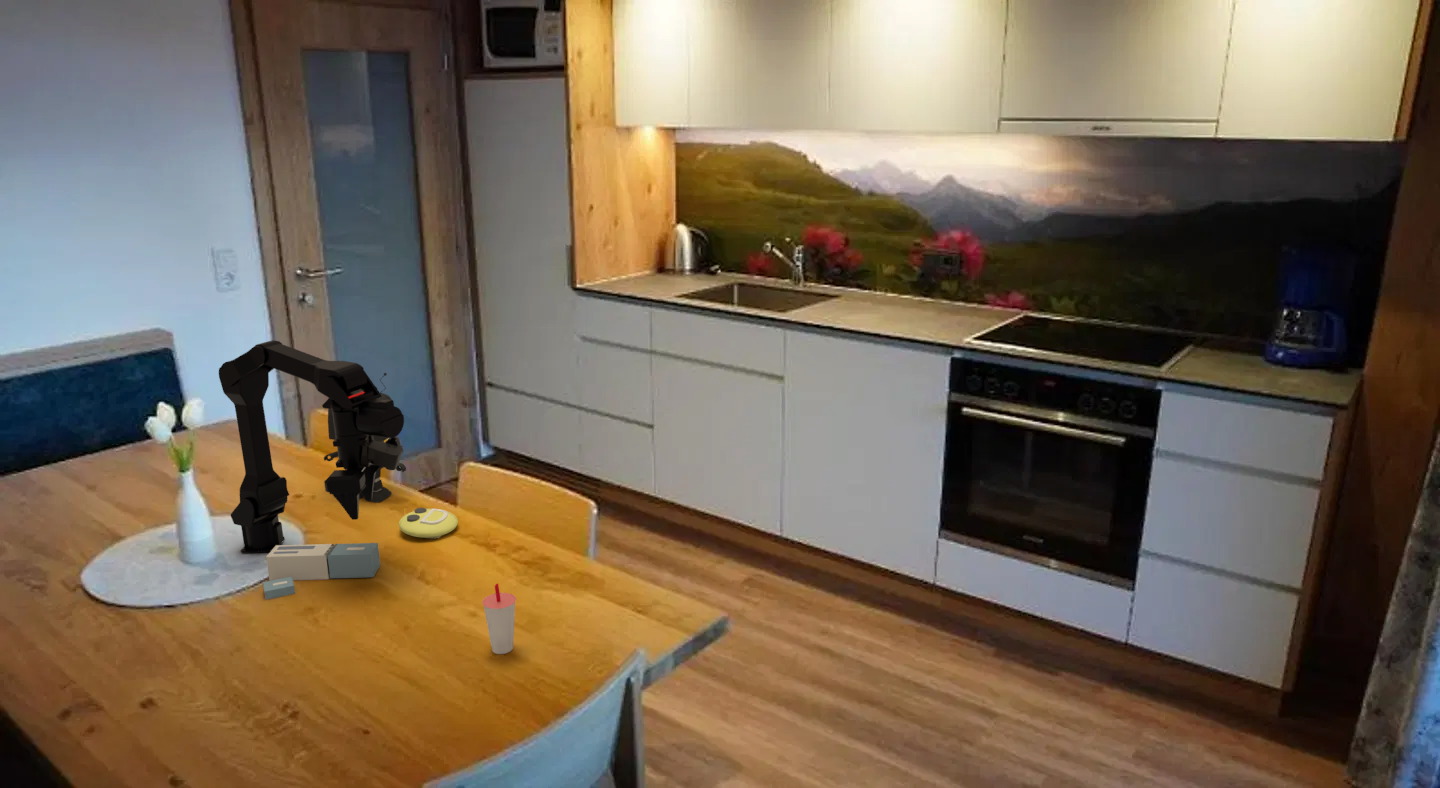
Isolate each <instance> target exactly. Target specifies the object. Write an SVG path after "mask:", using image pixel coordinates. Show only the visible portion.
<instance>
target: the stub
mask: <svg viewBox="0 0 1440 788" xmlns="http://www.w3.org/2000/svg"><path fill="white" fill-rule="evenodd" d="M327 556H328V564H329V572H330V578H329V579H354V578H355V579H358V578H360V579H361V578H374V577H375V575H376V573H377V572H378V570H379V568H380V567H381V560H380V559H381V558H380V551H379V543H378V542H363V543H362V542H361V543H357V542H356V543H335V544H334V547H333V548H332V550H331V551H330V552H329V554H328V555H327Z"/></svg>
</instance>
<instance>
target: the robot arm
mask: <svg viewBox="0 0 1440 788" xmlns="http://www.w3.org/2000/svg"><path fill="white" fill-rule="evenodd" d="M274 369H275V370H276V371H277V370H278V371H280V372H283V373H285V374H288V375H291V376H293V377H296V378H298V379H299V380H304V381H307V382H309V383H311V384H313V385H314V387H315V389H316V391H318V393H320V394H322V395H323V396H325V397H327V400H326V401H325V402H324V403H322V405H321V407H322V409H332V414H333V421H334V428H335V435H336V439H335V440H332V446H333V448H334V447H337V448H336V451H338V457H337V458H338V459H337V460H336V462H335V467H336V468H337V469H338V468H339V469H338V470H337V469H334V470H333V471H332V472H331V474H330V475H329V476H328V477H327V478H326V479H325V480H324V488H325V492H326V493H329V494H330V495H332V496H333V497H334V498H335V499H336V501H337V502H338V503H339V504H340V505H341V507H342V508H343V510H344V511H345V513H346V514H347V515H348V516H349V518H350V519H351V520H358V519H359V513H360V499H359V493H360V492H361V493H362V495H363V497H362V498H363V499H364V500H365V501H366V502H370V501H371V500H372V495H373V488H374V481H375V474H376V471H377V470H378V469H379V468H380V467H384V468H385V469H386V470H388V471H396V467H397V466H398V465H399V463H401V458H402V454H403V453H404V448H403V445H401V441H400V438H399V437H398V436H399V434H401V432H402V431H403V429H404V423H405V418H404V416H405V415H404V414H403V412H402V411H401V409H400V408H399V407H397V406H395V403H394V400H393V399H392V400H388V399H387V400H379V398H381V394H380V391H379V390H378V387H377V386H376V385H375V384H374V383H373V381H372V379H371V378H370V377H369V375H368V374H367V373H366V371H365V370H364V367H363V366H362V365H361V364H360V363H358V362H352V361H346V360H327V359H323V358H320V357H318V356H317V357H316V356H315V355H312V354H309V353H306V352H304V351H301V350H299V349H295V348H294V347H291V346H287V345H285V344H283V343H282V342H281V341H279V340H268V341H264V342H261V343H257V344H255V345H254V346H253V347H252V348H250V349H249V350H248V351H246V352H244V353H243V354H241V355H240V356H238V357H236V358H234V359H232V360H227V361H225V362H223V363H222V365H221V366H220V367H219V368H218V378H219V382H220V384H221V388H222V389H221V390H222V391H223V394H224V395H225V397H227V398H228V399H229V400H230V401H231V403H232V404H233V406H234V409H235V414H236V415H235V416H236V420H237V421H236V422H237V428H238V429H237V430H238V434H239V439H240V445H241V453H242V459H243V465H244V472H245V475H244V477H243V480H242V482H241V485H240V487H239V503H238V504H237V505H236V507H235V508H234V510H233V511H232V512H231V513H230V517H231V520H232V522H233V525H237V526H240V527H241V534H242V540H243V541H242V542H243V547H242V549H240V552H241V553H242V554H243V553H245V554H247V553H270V552H271V551H272V549H273V548H274V547H275V546H276V545H282V543H283V542H284V541H285V539H286V538H285V536H284V533H283V532H284V531H283V524H282V522H281V521H279V515H280V514H284V512H285V508H286V504H287V503H288V496H290V492H289V490H288V486H287V485H288V483H287V478H286V477H284V476H280V475H279V474H278V473H277V472H276V471H275V470H274V467H273V460H272V453H271V448H270V443H269V440H270V439H269V434H268V433H269V432H268V427H267V421H266V415H265V409H264V398H265V396H266V393H267V392H268V388H269V385H270V383H269V382H270V381H269V378H270V377H269V375H270V374H269V373H271V371H273V370H274ZM362 391H363V392H365V393H363V394H361V395H358V396H355V397H352V398H350V399H349V398H348V397H349V396H352V395H355V394H358V393H360V392H362ZM374 436H382V437H389V438H388V439H386V441H385V440H384V441H383V440H382V441H381V442H379V441H374ZM340 468H343V469H340ZM384 468H383V469H384ZM345 469H346V470H345ZM282 541H283V542H282Z"/></svg>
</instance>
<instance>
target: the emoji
mask: <svg viewBox="0 0 1440 788" xmlns="http://www.w3.org/2000/svg"><path fill="white" fill-rule="evenodd" d="M458 520H459V519H458V517H457V516H456V515H455V514H454V513H452V512H450V511H447V510H444V509H439V508H425V507H417V508H414V511H411V512H409V513H406V514H404V515H403V516H402V517H401V518H400V520H399V522H398V527H399V529H400V531H401V532H402V533H404V534H406V535H408V536H411V537H415V538H421V539H422V538H425V539H436V538H439V537H440V538H441V536H444V535H446V534H450V533H451V532H452V531H453V530H455V529H456V528H457V525H458V524H459V523H458V522H459V521H458Z"/></svg>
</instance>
